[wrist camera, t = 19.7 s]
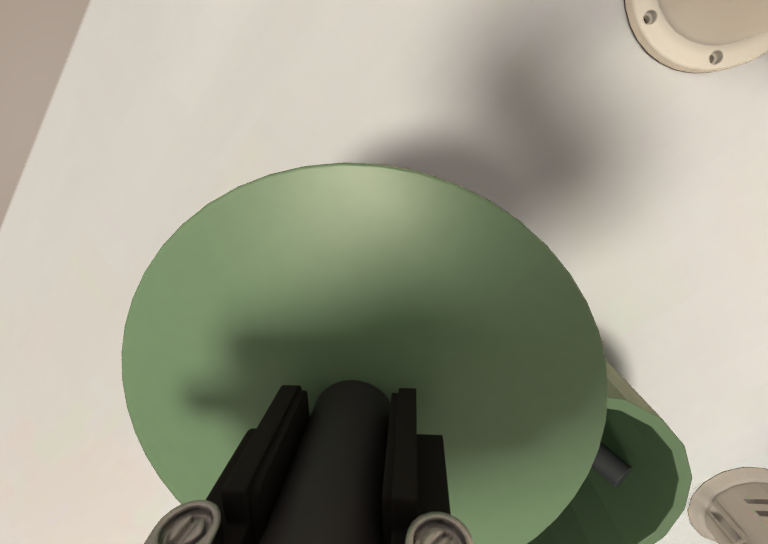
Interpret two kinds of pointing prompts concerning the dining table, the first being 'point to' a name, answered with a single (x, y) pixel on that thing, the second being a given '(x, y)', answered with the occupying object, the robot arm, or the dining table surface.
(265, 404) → the lid
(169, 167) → the dining table surface
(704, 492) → the french press
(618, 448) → the chamber
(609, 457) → the blade
